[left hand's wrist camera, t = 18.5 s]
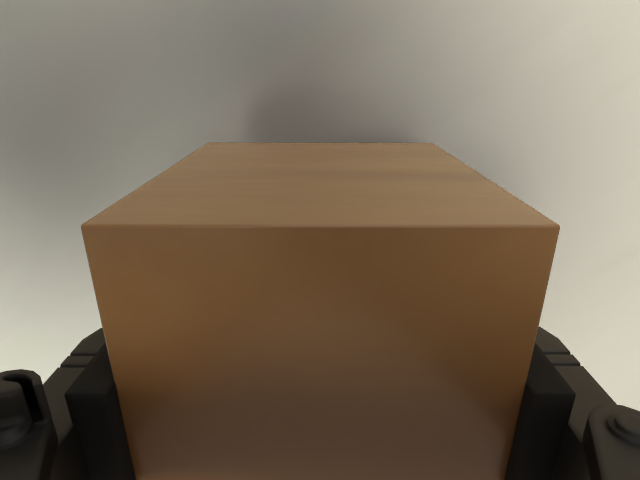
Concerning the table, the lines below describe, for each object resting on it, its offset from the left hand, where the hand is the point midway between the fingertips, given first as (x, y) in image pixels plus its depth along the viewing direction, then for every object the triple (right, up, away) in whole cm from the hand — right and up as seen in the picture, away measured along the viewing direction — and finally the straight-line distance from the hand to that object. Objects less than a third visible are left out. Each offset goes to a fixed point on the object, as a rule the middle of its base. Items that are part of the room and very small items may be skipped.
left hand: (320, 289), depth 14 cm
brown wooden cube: (0, +1, +2) cm, 2 cm away
